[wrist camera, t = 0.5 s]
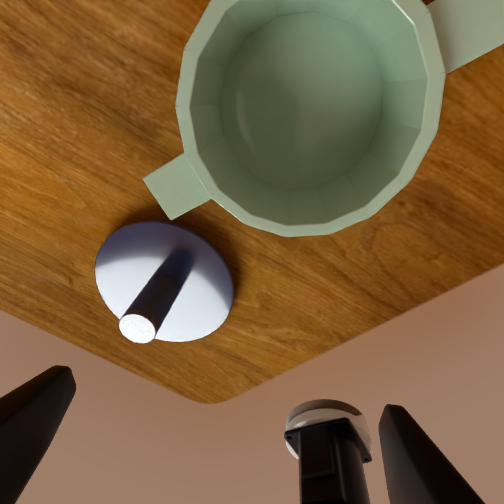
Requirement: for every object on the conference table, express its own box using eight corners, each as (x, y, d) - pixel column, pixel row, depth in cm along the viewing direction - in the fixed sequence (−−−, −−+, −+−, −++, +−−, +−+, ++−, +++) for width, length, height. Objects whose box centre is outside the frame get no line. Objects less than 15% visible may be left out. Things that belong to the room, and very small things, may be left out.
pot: (464, 124, 17) (552, 139, 11) (228, 236, 22) (207, 287, 16) (410, -93, 13) (499, -228, 8) (142, 97, 18) (76, 99, 12)
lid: (260, 307, 24) (253, 362, 19) (156, 347, 27) (126, 403, 22) (185, 190, 20) (152, 221, 16) (74, 252, 24) (18, 294, 19)
